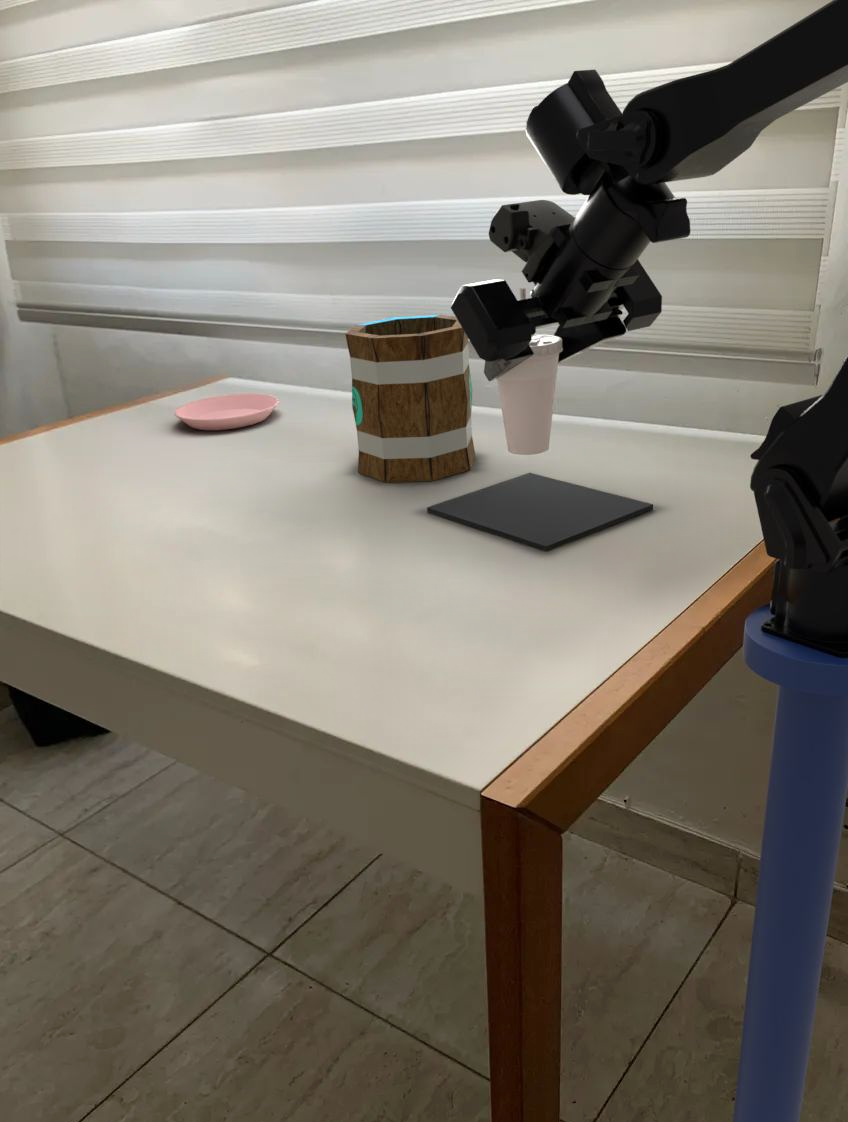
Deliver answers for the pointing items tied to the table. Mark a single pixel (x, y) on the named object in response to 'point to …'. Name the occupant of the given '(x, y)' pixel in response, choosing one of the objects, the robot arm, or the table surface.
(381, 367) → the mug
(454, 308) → the robot arm
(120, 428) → the table surface
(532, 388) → the smoothie
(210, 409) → the plate
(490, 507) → the mat
